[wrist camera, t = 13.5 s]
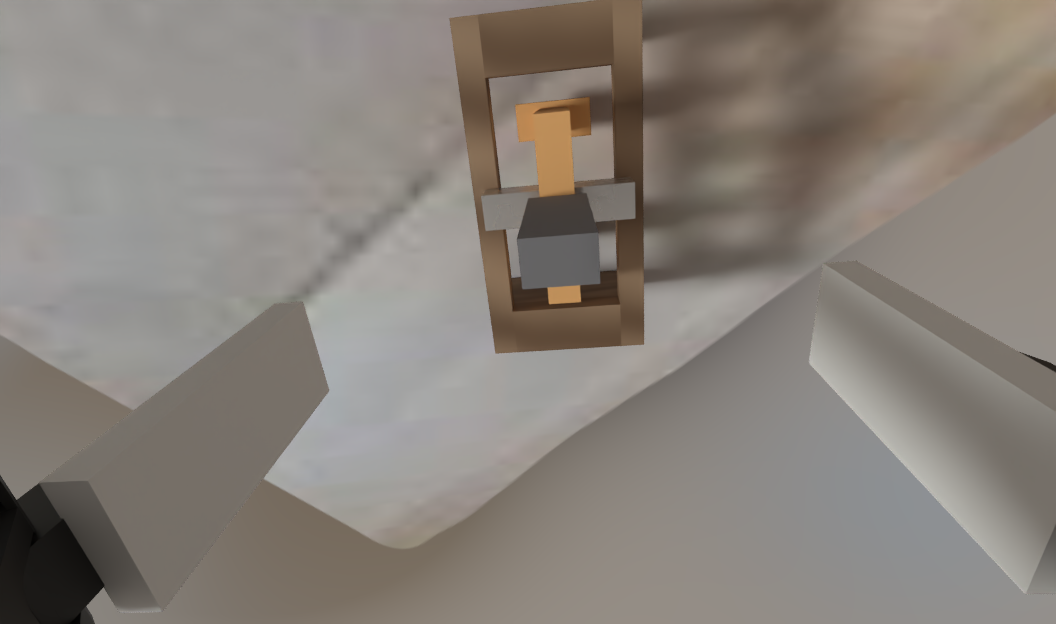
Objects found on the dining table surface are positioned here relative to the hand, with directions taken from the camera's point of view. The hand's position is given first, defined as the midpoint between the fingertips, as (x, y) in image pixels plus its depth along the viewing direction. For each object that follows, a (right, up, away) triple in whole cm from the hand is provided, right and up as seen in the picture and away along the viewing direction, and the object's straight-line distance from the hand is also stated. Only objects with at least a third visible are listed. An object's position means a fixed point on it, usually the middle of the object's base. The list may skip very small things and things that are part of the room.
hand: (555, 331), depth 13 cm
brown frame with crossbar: (+2, +12, +27) cm, 29 cm away
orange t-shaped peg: (+2, +10, +24) cm, 26 cm away
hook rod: (+1, +7, +17) cm, 18 cm away
